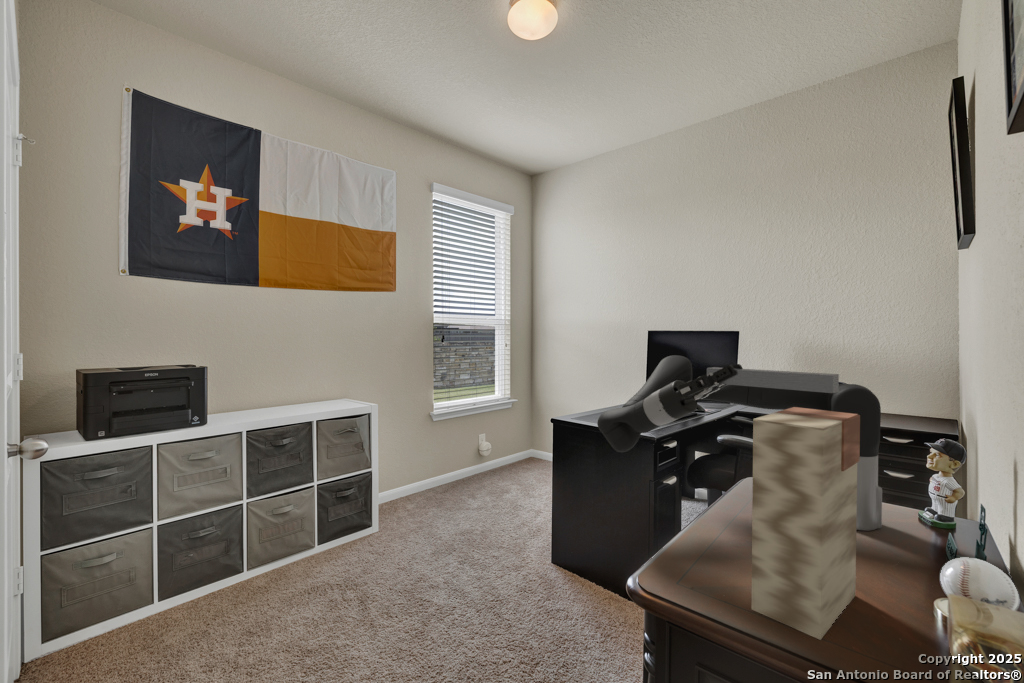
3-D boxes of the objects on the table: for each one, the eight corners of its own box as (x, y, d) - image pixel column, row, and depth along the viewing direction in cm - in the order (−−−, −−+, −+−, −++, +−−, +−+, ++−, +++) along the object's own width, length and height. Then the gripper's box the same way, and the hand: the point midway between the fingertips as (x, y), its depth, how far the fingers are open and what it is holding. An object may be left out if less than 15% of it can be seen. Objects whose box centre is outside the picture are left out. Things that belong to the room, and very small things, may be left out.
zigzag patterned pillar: (751, 609, 77) (753, 418, 76) (792, 572, 89) (794, 406, 88) (822, 641, 69) (825, 428, 68) (857, 596, 81) (860, 414, 80)
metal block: (706, 382, 94) (706, 368, 94) (713, 381, 96) (713, 367, 96) (832, 393, 78) (832, 375, 77) (838, 391, 79) (838, 374, 79)
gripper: (693, 415, 106) (762, 383, 94) (659, 423, 97) (730, 389, 85) (678, 385, 109) (743, 350, 97) (643, 391, 100) (710, 353, 88)
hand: (737, 368), depth 91 cm, fingers closed on metal block, 3 cm apart
